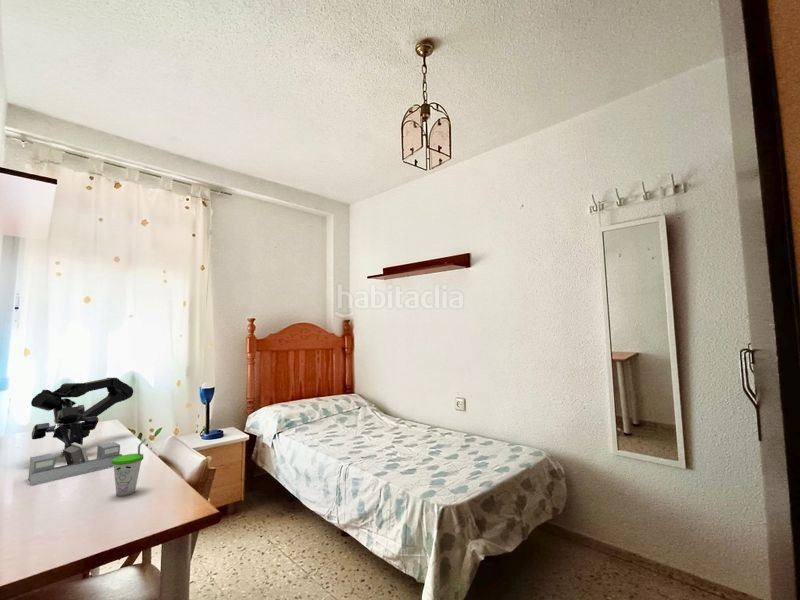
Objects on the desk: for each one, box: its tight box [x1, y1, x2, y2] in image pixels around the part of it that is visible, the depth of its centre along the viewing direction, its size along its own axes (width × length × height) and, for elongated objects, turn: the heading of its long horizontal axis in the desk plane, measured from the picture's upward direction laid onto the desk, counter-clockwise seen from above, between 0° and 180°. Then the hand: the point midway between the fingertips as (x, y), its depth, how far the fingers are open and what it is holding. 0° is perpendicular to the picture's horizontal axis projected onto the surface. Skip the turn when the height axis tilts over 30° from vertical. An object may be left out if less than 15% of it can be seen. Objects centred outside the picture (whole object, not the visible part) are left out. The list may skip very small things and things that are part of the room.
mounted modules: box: [27, 441, 121, 482], centre depth 130 cm, size 7×23×7 cm, turn 142°
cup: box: [112, 438, 147, 497], centre depth 111 cm, size 8×8×15 cm
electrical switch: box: [62, 443, 90, 465], centre depth 132 cm, size 9×5×9 cm, turn 58°
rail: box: [29, 453, 123, 486], centre depth 128 cm, size 2×24×4 cm, turn 142°
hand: (69, 445), depth 140 cm, fingers closed
